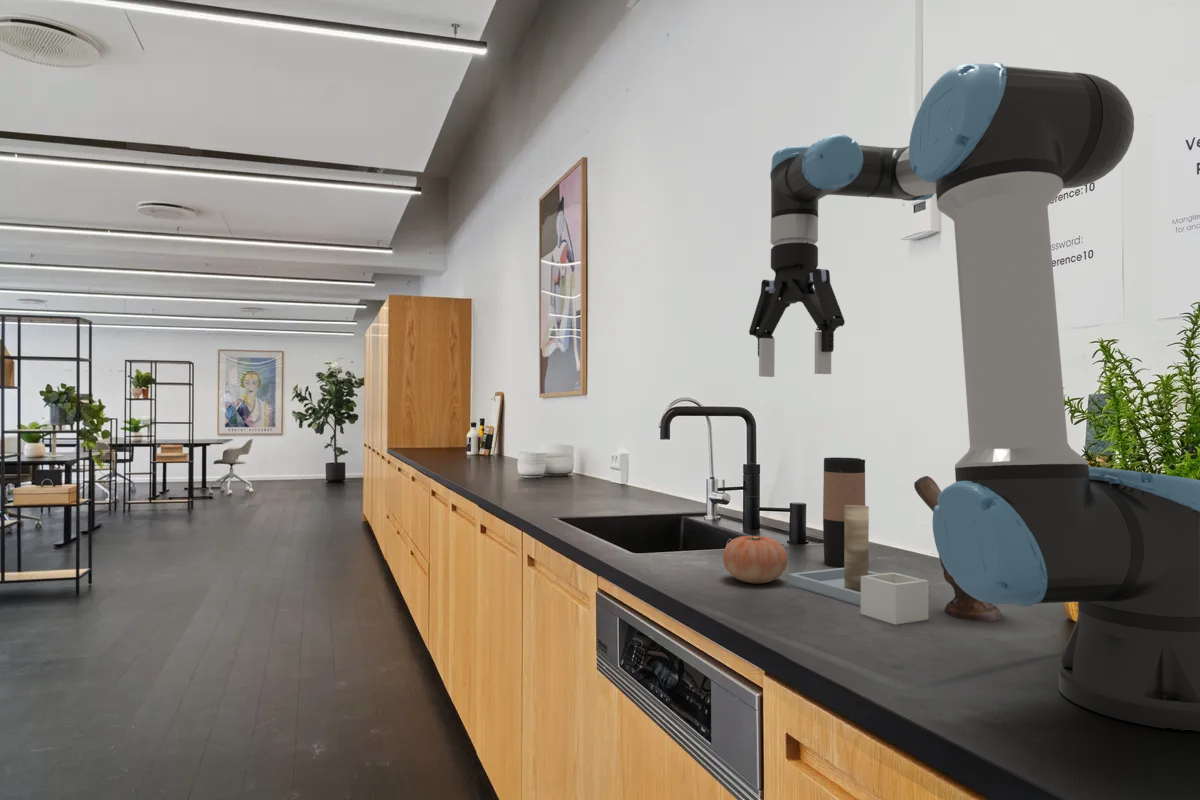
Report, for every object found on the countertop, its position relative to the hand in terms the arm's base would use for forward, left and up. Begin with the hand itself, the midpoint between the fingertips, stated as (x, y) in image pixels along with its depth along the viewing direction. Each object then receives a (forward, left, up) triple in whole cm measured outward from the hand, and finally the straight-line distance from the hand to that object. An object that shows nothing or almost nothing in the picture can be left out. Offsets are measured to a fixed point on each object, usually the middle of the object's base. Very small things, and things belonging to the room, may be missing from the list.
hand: (793, 375), depth 130 cm
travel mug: (+12, -23, -35) cm, 43 cm away
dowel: (-8, -6, -34) cm, 35 cm away
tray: (-8, -6, -35) cm, 36 cm away
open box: (-22, +1, -35) cm, 41 cm away
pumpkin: (+7, +2, -35) cm, 36 cm away
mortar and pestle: (-25, -8, -35) cm, 44 cm away
